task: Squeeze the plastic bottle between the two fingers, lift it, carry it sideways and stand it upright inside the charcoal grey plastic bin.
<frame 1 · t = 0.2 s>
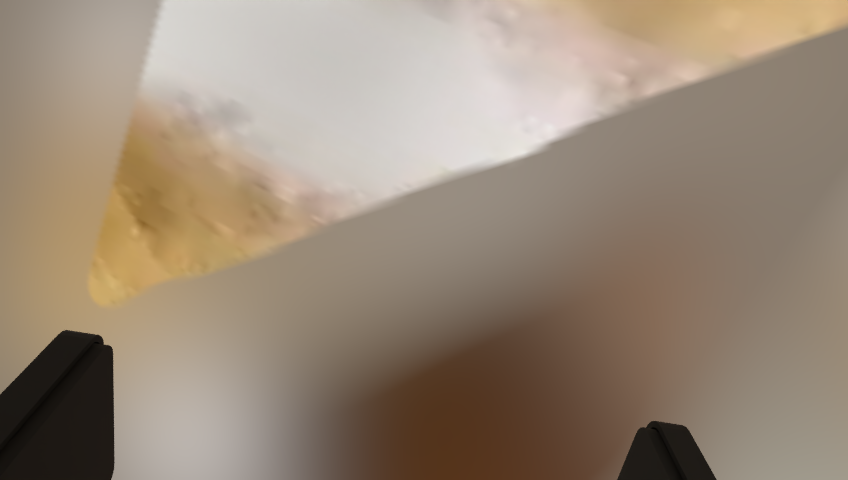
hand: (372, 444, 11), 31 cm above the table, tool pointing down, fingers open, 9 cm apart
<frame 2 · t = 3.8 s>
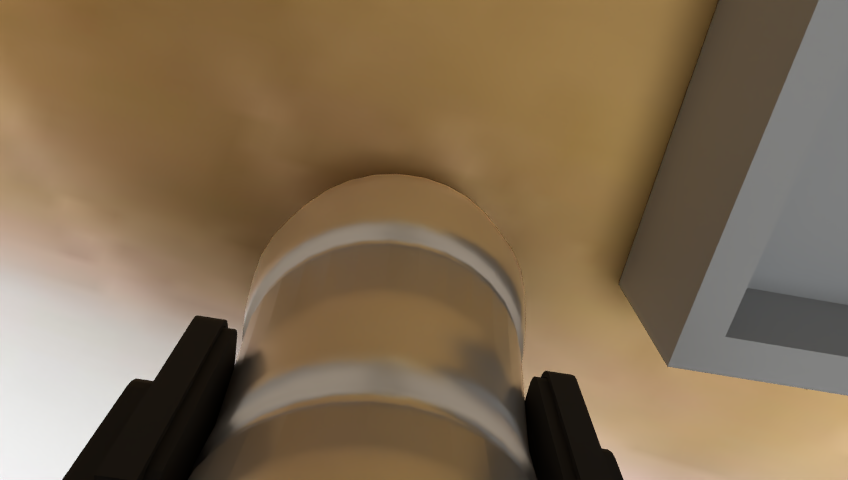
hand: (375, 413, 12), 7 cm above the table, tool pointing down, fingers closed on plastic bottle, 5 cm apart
plastic bottle: (392, 259, 18), on the table, touching gripper
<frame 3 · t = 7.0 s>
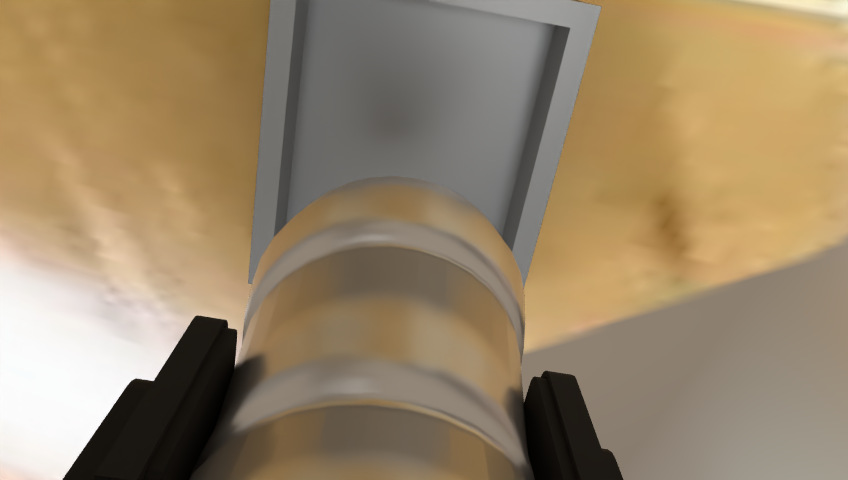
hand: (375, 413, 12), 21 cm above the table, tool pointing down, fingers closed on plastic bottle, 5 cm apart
plastic bottle: (391, 261, 18), point 15 cm above the table, touching gripper
grey bin: (410, 134, 31), on the table
when the fingers open (9 cm above the table, at t = 10.2 s): plastic bottle drops 1 cm, resting on grey bin.
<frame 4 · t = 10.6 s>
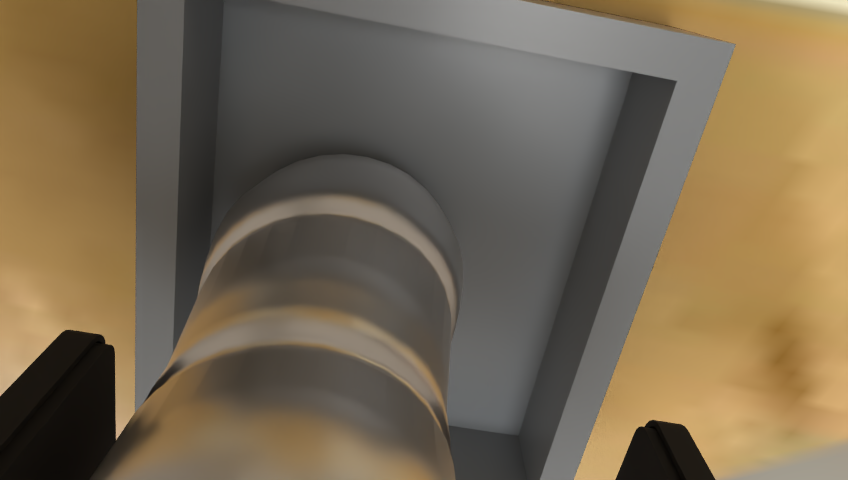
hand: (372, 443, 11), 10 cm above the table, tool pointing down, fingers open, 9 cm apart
plastic bottle: (345, 235, 19), point 1 cm above the table, touching grey bin, gripper
grey bin: (396, 230, 20), on the table
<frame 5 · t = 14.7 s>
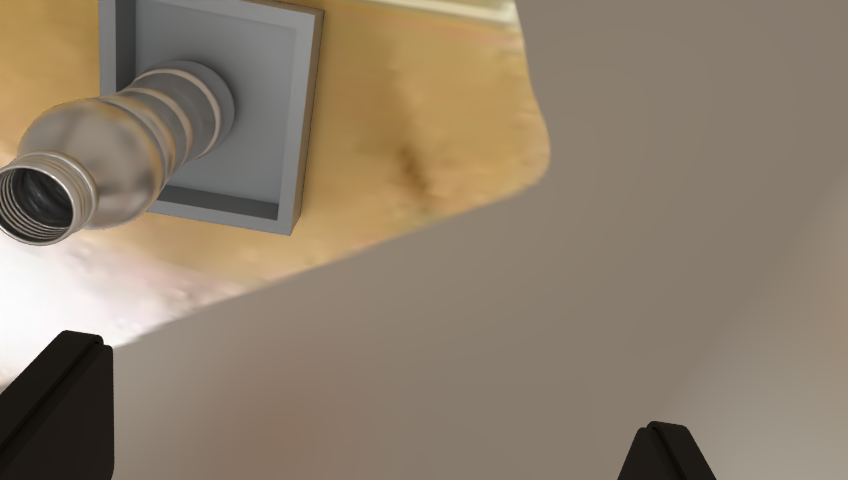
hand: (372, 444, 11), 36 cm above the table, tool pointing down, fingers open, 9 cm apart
plastic bottle: (194, 102, 44), point 1 cm above the table, touching grey bin
grey bin: (220, 102, 45), on the table
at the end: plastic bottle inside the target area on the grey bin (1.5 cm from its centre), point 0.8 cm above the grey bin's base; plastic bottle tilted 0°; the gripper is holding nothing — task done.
